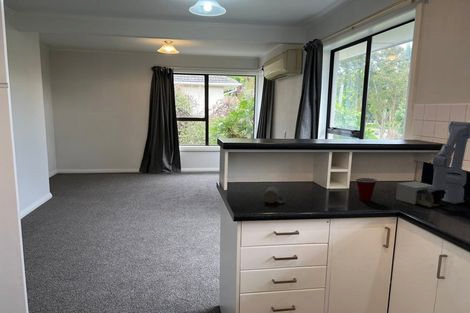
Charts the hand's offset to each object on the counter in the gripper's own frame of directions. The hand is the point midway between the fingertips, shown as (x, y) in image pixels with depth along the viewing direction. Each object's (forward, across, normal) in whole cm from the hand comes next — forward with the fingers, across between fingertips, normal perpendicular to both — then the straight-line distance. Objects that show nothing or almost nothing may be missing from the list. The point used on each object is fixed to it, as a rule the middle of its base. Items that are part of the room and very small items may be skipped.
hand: (436, 204), depth 167 cm
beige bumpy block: (+2, 0, +6) cm, 6 cm away
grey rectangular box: (+1, 0, +13) cm, 13 cm away
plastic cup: (+2, -26, +23) cm, 35 cm away
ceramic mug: (+2, -75, +39) cm, 85 cm away
